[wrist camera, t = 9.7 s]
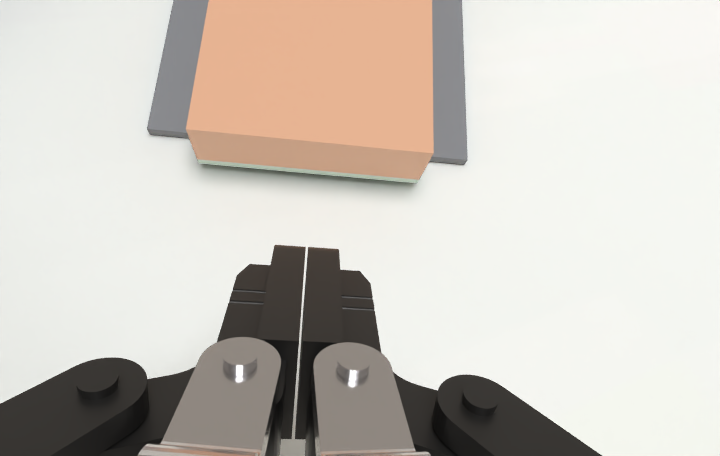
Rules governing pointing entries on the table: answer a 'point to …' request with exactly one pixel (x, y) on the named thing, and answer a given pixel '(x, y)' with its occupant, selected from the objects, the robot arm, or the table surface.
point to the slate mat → (447, 76)
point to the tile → (316, 87)
